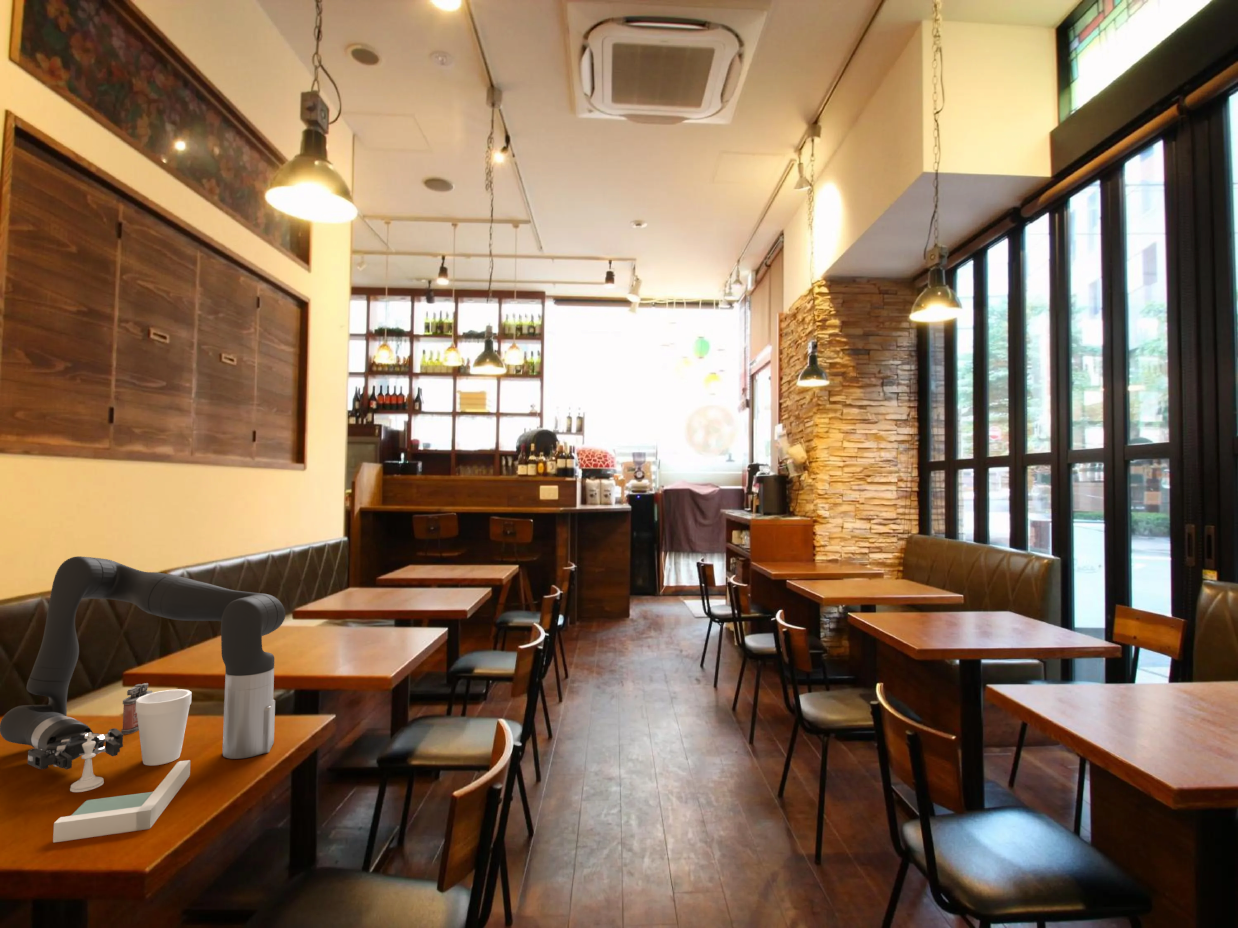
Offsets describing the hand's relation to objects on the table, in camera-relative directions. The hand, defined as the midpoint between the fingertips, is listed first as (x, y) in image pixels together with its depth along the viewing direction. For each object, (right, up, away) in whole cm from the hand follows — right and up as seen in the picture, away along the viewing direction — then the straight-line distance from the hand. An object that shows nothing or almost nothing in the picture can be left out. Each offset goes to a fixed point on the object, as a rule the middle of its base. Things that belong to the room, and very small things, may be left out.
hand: (93, 756), depth 118 cm
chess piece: (-2, -6, +1) cm, 7 cm away
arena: (+11, -6, -7) cm, 14 cm away
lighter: (-16, -8, +31) cm, 36 cm away
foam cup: (+3, -7, +13) cm, 15 cm away
